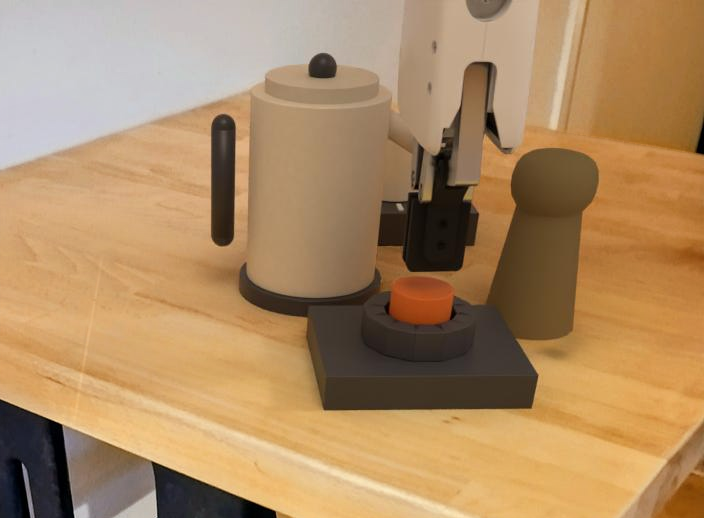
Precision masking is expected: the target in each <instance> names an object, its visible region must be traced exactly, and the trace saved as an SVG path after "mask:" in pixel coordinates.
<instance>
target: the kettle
mask: <svg viewBox="0 0 704 518" xmlns="http://www.w3.org/2000/svg"><path fill="white" fill-rule="evenodd" d="M249 96H250V99H249V103H250V104H249V141H248V143H249V144H248V145H249V146H248V181H247V182H248V186H247V226H246V227H247V232H246V233H247V234H246V261H245V262H244V263H243V264H242V265H241V267H240V269H239V271H238V273H239V275H238V291H239V294H240V295H241V297H242V298H243V299H244V300H245V301H247V302H248V303H249V304H251V305H253V306H255V307H257V308H259V309H262V310H264V311H267V312H271V313H275V314H279V315H283V316H284V315H285V316H290V317H296V318H297V317H298V318H308V306H356V305H363V304H364V303H365V302H366V301H367V300H368V299H370V298H371V297H372V296H373V295H375V294H378V293H381V284H382V274H381V272H380V270H379V269H378V268H377V267H376V263H377V262H376V261H377V254H378V253H377V252H378V245H377V244H378V234H379V224H380V214H381V204H382V194H383V184H384V174H385V164H386V154H387V144H388V139H390V140H391V141H393V142H394V143H396V144H397V145H399V146H400V147H402V148H403V149H405V150H407V151H408V152H410V153H411V154H412V152H413V138H414V136H413V134H412V133H411V131H410V130H409V128H408V127H407V125H406V124H405V122H404V121H403V119H402V117H401V115H400V113H399V112H397V111H396V110H395V109H393V108H392V102H393V92H392V90H391V89H389V88H387V87H386V86H384V85H381V84H380V76H379V75H378V74H377V73H376V72H374V71H371V70H368V69H365V68H361V67H356V66H350V65H341V64H337V61H336V59H335V58H334V57H333V56H332V55H331V54H330V53H327V52H319V53H317V54H315V55H314V56H313V57H312V58H311V59H310V61H309V63H303V64H302V63H301V64H300V63H299V64H290V65H284V66H279V67H275V68H272V69H269V70H268V71H266V73H264V80H263V81H261V82H258V83H256V84H254V85H253V86H252V87H250V95H249ZM236 136H237V124H236V121H235V120H234V118H233V117H232V116H231V115H229V114H227V113H220V114H217V115H216V116H215V117H213V119H212V121H211V124H210V238H211V240H212V242H213V243H214V244H215V245H216V246H218V247H220V248H223V247H227V246H230V245H231V244H232V242H233V241H234V239H235V213H236V211H235V209H236V207H235V205H236V150H237V149H236V148H237V146H236V144H237V143H236V142H237V141H236V140H237V137H236Z"/></svg>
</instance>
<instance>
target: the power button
mask: <svg viewBox="0 0 704 518" xmlns="http://www.w3.org/2000/svg"><path fill="white" fill-rule="evenodd" d="M390 290H391V298H390V307H389V315H390V316H391V317H393V318H395V319H397V320H399V321H403V322H407V323H412V324H439V323H443V322H446V321H449V320H450V317H451V311H452V304H453V297H454V295H455V288H454V287H453V285H452V284H451V283H449V282H447V281H445V280H443V279H440V278H436V277H432V276H431V277H430V276H425V275H423V276H422V275H415V276H414V275H413V276H412V275H411V276H406V277H401V278H398V279H396V280H395V281H394V282H393V283H392V284H391V289H390Z"/></svg>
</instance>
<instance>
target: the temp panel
mask: <svg viewBox="0 0 704 518" xmlns="http://www.w3.org/2000/svg"><path fill="white" fill-rule="evenodd" d="M407 202H408V201H404V202H389V201H382V204H381V214H380V224H379V234H378V244H377V246H403V241H404V231H405V221H406V212H407ZM479 217H480V212H479V210H477V208H476V207H475V205H474V204H473V203H472V204H471V211H470V218H469V225H468V233H467V240H466V246H474V245H475V243H476V236H477V230H478V225H479V224H478V223H479Z"/></svg>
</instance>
